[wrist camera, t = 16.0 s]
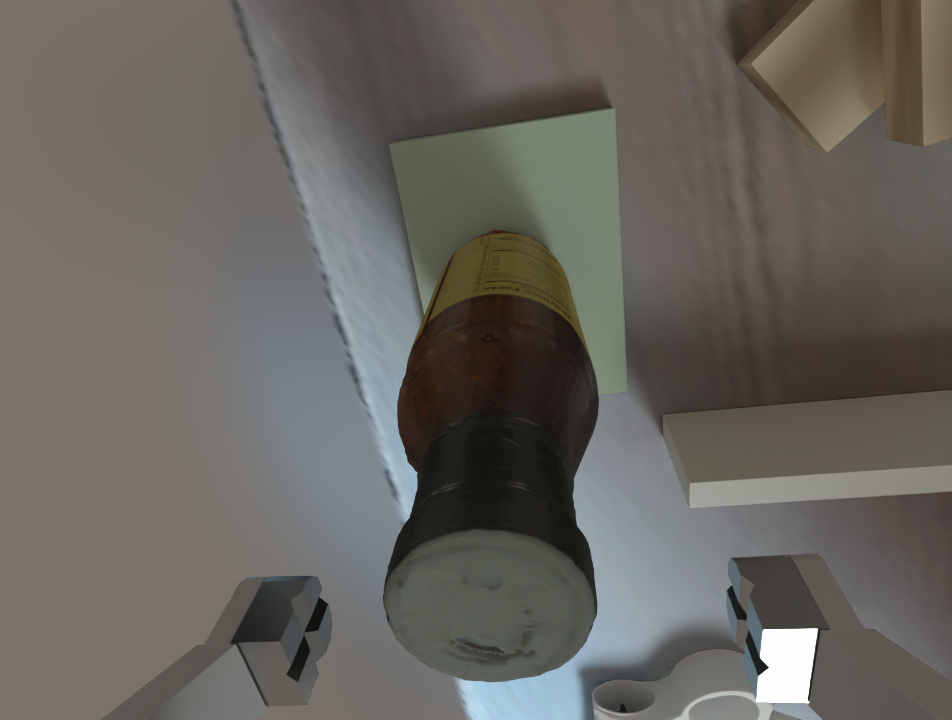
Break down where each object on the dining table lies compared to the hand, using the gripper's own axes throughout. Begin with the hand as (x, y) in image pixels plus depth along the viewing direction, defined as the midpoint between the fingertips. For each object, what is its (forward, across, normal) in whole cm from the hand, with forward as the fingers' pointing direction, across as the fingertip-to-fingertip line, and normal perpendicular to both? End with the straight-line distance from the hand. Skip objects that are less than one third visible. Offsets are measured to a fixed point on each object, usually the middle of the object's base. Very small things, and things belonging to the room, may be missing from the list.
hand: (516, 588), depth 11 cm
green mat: (+20, 0, 0) cm, 20 cm away
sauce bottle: (+19, +1, 0) cm, 19 cm away
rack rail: (+20, -17, +10) cm, 28 cm away
